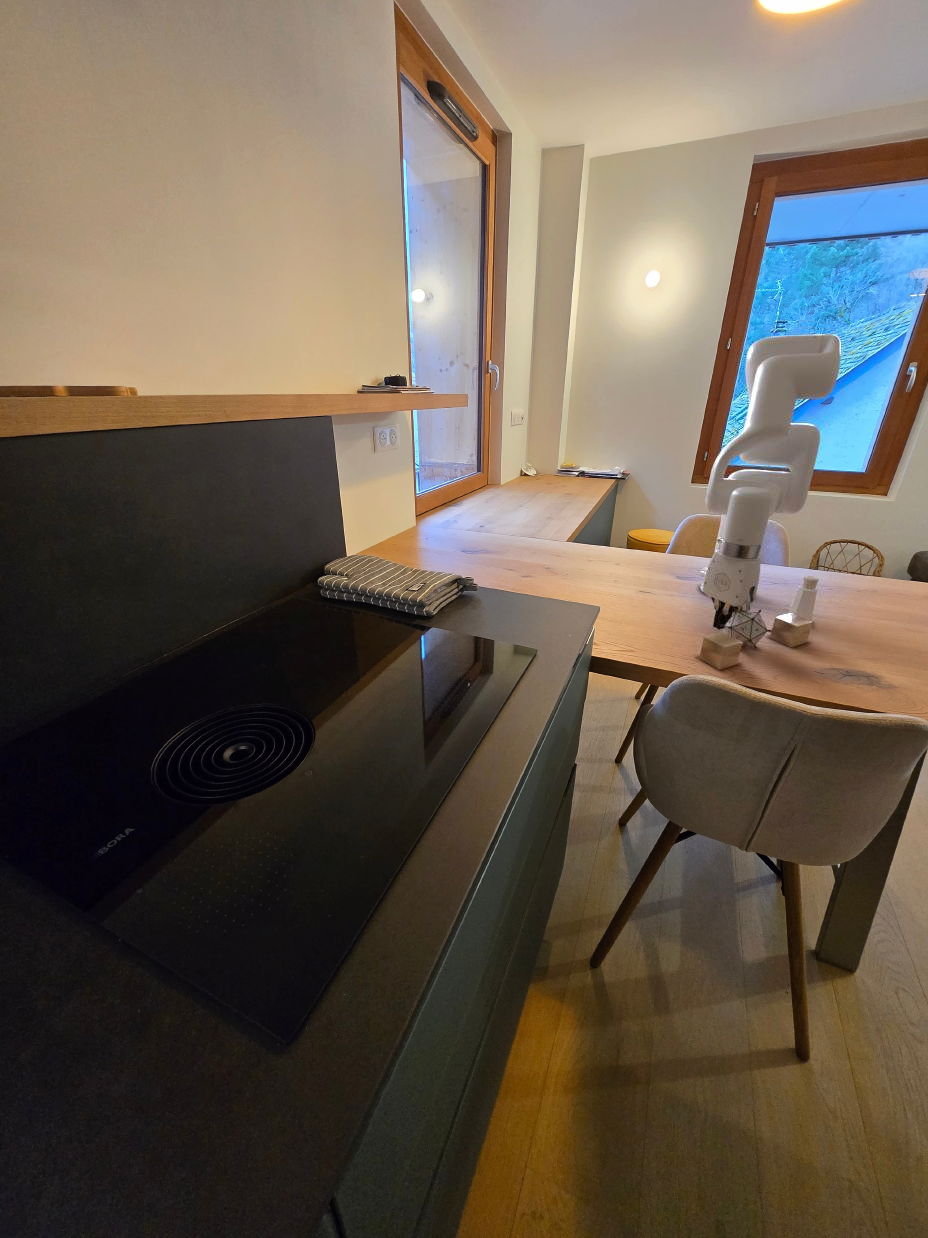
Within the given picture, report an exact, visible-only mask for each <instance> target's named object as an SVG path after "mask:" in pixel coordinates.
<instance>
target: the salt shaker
mask: <svg viewBox="0 0 928 1238" xmlns="http://www.w3.org/2000/svg"><path fill="white" fill-rule="evenodd" d="M819 581H820V580H819V578H818V577H816V576H810V575H806V576H804V577H803V580H802V584H801V585H799V586H798V588H797V590H796V592H795V595H794V598H793V599H792V601H791V604H790V607H789V609H788V611H787V613H786V614H789V613H792V614H795V615H797V616H800V617H802V618H805V619H807V620H810V621H812V620H813V619H812V618H813V613H814V610H815V609H814V608H815V603H816V599H817V593H818V588H817V585H818V582H819Z"/></svg>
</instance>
